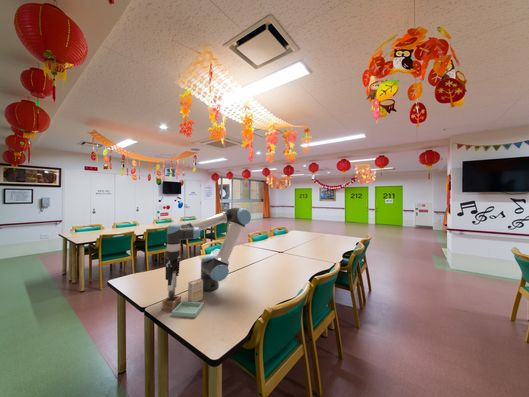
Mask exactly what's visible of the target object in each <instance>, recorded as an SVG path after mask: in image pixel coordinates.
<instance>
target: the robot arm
mask: <svg viewBox="0 0 529 397" xmlns="http://www.w3.org/2000/svg"><path fill="white" fill-rule="evenodd" d="M251 219H252V215H251V212H250V211H249V209H247V208H244V207H231V208H229V209H226V210H223V211H221V212H220V213H217V214H215V215H212V216H211V215H210V216H208V217H205V218H201V219H198V220H195V221H192V222H189V223H185V224H183V223H182V224H170V225H168V226H167V231H166V258H167V259H168V261H167V263H165V264H164V267H165V280H166V281H167V291H168V290H173V279H172V276H173V270H176V280H175V288H177V282H178V281H177V280H178V278H177V277H179V274H180V260H181V257H180V256H181V241H184V240H196V239H199V238H201V237H200V236H201V231H203V230H206V229H208V228H209V229H210V228H212V227H215V226H217V225H220V224H223V223H224V224H227V223H229V224H230V226H229V228H228V231H227V233H226V235H225V236H224V237H225V238H224V239H223V242H222V244H221V246H220V249H219V251H218V253H217V255H208V256H203V257H202V258H201V259H200V260H201V262H200V278H199V279H201V280H203V293H204V292H213V291H215V290H217V289H219V287H220V284H219V282H221V281H223V280H225V279H226V278H227V277H228V276H229V265H230V262H229V260H230V257H231V255H232V252H233V250H234V247H235V246H236V243H237V240H238V238H239V236H240V233H241V231H242V230H243V229H245V227H246V225H248V224H249V223H250V222H251V221H252V220H251Z"/></svg>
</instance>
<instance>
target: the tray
mask: <svg viewBox="0 0 529 397" xmlns="http://www.w3.org/2000/svg"><path fill="white" fill-rule="evenodd" d="M204 305H205V302H201V301H199V302H188V300H187V301H185V300H181V303H180V304H179V305H178V306H177V307H176V308H175V309H174V310H173V311H171V317H176V318H177V317H178V318H179V317H180V318H191V319H196V318H197V316H198V315H199V314H200V312H201V311H202V310H203V308H204Z"/></svg>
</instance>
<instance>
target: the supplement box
mask: <svg viewBox="0 0 529 397" xmlns="http://www.w3.org/2000/svg"><path fill="white" fill-rule="evenodd" d="M187 284H188V285H187V287H188V288H187V289H188V290H187V292H188V294H187V302H201V301H203V300H204V298H203V296H204V291H203V280H201V279H200V278H197V279H193V280H192V281H188V283H187Z"/></svg>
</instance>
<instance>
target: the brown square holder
mask: <svg viewBox="0 0 529 397" xmlns="http://www.w3.org/2000/svg"><path fill="white" fill-rule="evenodd" d="M181 302H182V296H180V295H175V296H173V297H168V296H167V297H166V298H165V299H164V300H163V301H162V311H169V312H170V311H171V312H172V311H173V310H174V309H175V308H176V307H177V306H178V305H179V304H180V303H181Z"/></svg>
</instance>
